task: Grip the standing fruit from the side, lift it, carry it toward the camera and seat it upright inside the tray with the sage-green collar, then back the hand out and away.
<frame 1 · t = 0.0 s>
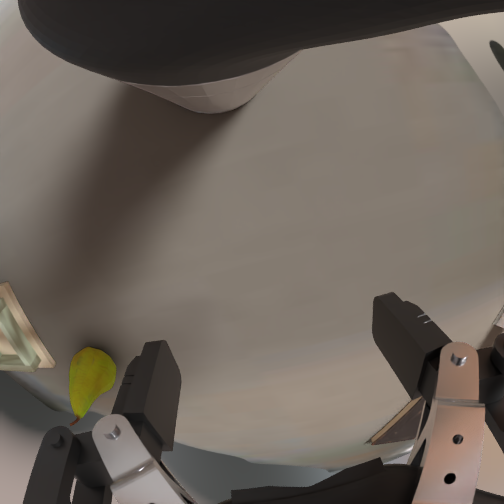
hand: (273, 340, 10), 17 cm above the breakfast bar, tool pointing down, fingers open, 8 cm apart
hardcover book: (423, 404, 48), on the breakfast bar
fruit: (99, 354, 32), on the breakfast bar
tray: (4, 328, 29), on the breakfast bar
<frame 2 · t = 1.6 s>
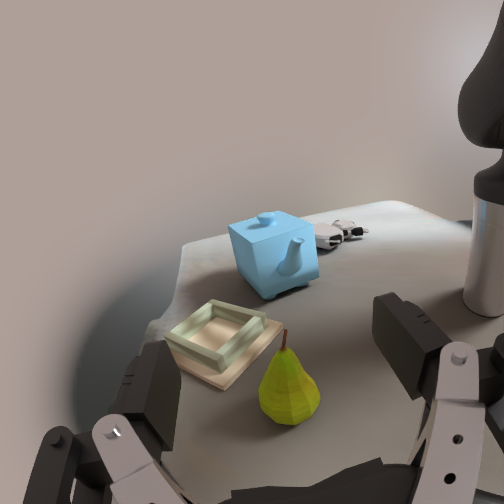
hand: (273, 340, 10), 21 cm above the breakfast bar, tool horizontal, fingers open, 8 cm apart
robot toy: (333, 242, 69), on the breakfast bar
fruit: (291, 413, 28), on the breakfast bar
teapot: (281, 286, 55), on the breakfast bar
tray: (219, 343, 42), on the breakfast bar
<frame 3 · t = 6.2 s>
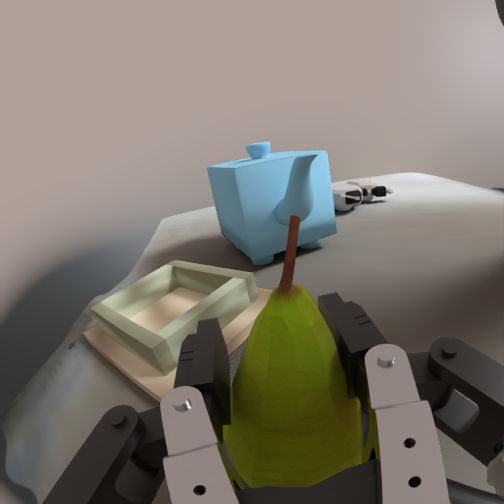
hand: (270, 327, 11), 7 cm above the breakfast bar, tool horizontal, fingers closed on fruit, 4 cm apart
robot toy: (349, 205, 52), on the breakfast bar
fruit: (300, 464, 11), on the breakfast bar, touching gripper
teapot: (281, 249, 38), on the breakfast bar
tray: (177, 325, 25), on the breakfast bar
when the fingers open (9 cm above the breakfast bar, at t = 11.4 s): fruit drops 1 cm, resting on tray.
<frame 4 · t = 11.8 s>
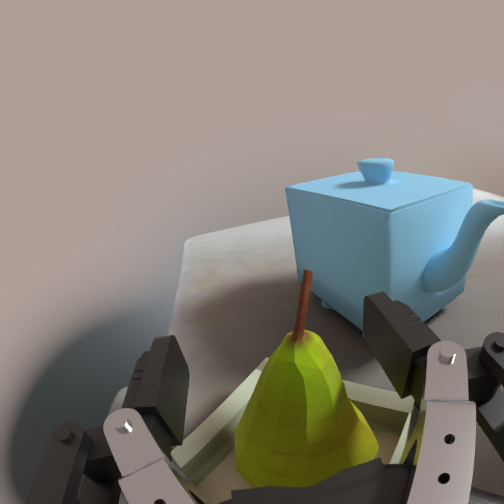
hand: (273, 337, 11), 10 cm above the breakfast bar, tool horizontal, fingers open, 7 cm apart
fruit: (307, 475, 12), point 1 cm above the breakfast bar, touching tray
teapot: (391, 311, 25), on the breakfast bar
tray: (300, 479, 12), on the breakfast bar
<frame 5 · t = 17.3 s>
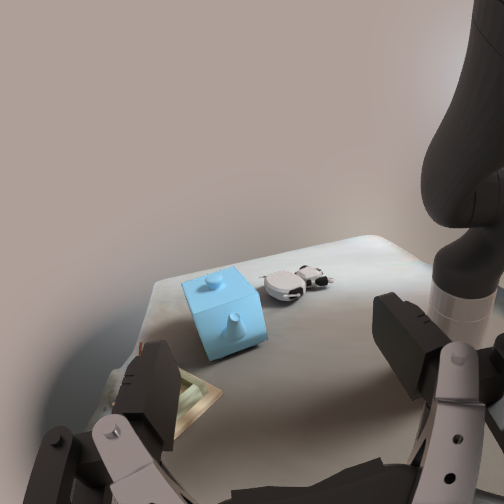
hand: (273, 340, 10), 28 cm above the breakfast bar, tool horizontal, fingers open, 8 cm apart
robot toy: (297, 291, 68), on the breakfast bar
teapot: (233, 344, 54), on the breakfast bar
tray: (165, 402, 41), on the breakfast bar
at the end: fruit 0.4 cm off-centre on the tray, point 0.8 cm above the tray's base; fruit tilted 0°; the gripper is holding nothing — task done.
